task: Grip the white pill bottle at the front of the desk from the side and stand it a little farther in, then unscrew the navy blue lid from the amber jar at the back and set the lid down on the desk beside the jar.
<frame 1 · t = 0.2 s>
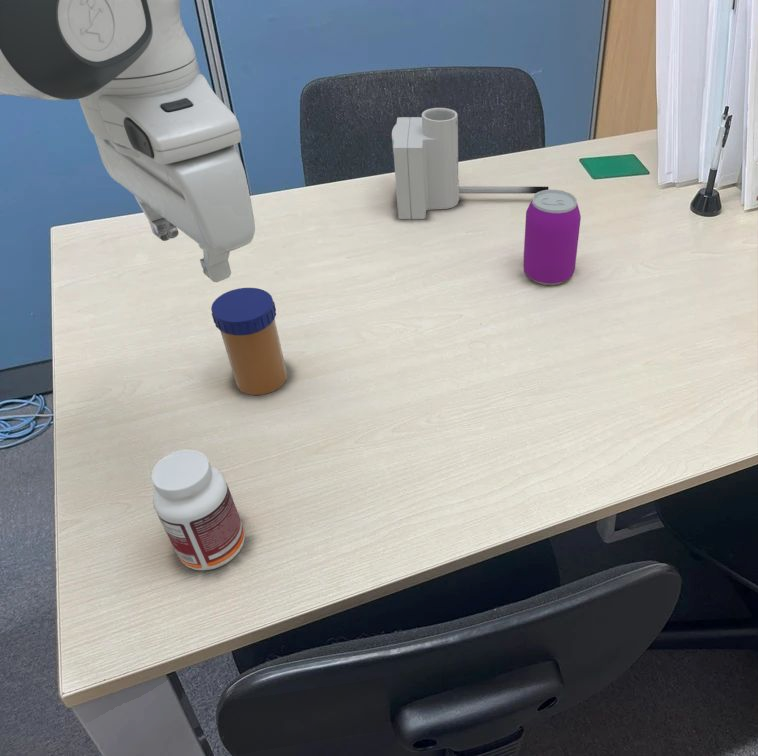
hand: (191, 255, 63), 23 cm above the table, tool pointing down, fingers open, 8 cm apart
pill bottle: (212, 546, 67), on the table
lid: (242, 306, 78), point 11 cm above the table, screwed on, not yet turned
jar: (261, 378, 85), on the table
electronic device: (472, 202, 121), on the table
beverage can: (548, 274, 105), on the table
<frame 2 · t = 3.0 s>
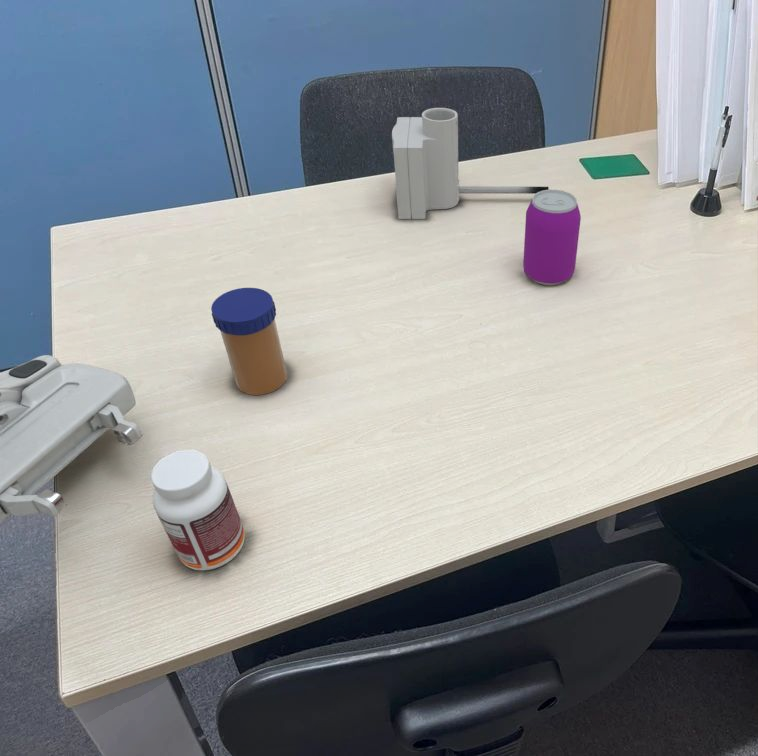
hand: (99, 469, 66), 6 cm above the table, tool horizontal, fingers open, 8 cm apart
nothing on the table moved.
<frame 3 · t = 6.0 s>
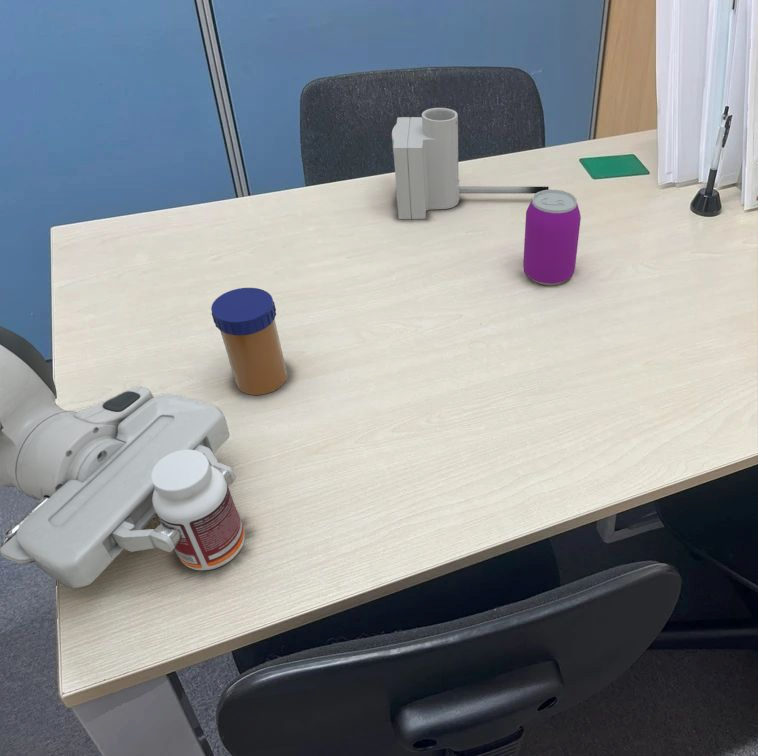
hand: (204, 508, 63), 6 cm above the table, tool horizontal, fingers closed on pill bottle, 6 cm apart
pill bottle: (212, 546, 67), on the table, touching gripper
everything else where it was.
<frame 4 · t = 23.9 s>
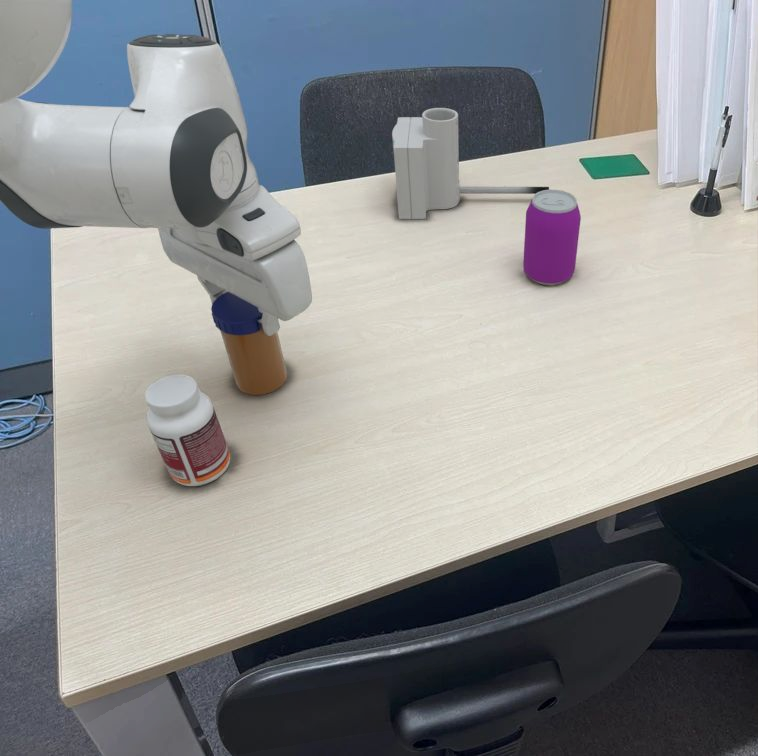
hand: (246, 318, 79), 9 cm above the table, tool pointing down, fingers closed on lid, 6 cm apart
pill bottle: (201, 467, 75), on the table
lid: (242, 306, 78), point 11 cm above the table, screwed on, not yet turned, touching gripper
everything else where it was.
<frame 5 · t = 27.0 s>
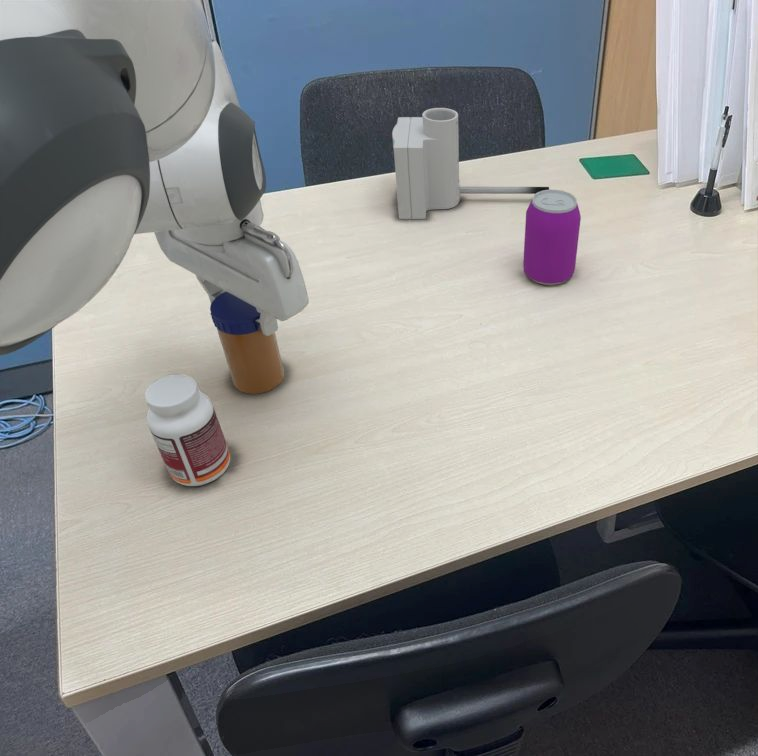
hand: (244, 317, 79), 9 cm above the table, tool pointing down, fingers closed on lid, 6 cm apart
lid: (241, 306, 78), point 11 cm above the table, off its thread, touching gripper, jar
jar: (258, 377, 85), on the table, touching gripper, lid
everything else where it was.
when the fingers open (0 cm above the table, at t = 34.9 s): lid stays where it is, point 1 cm above the table.
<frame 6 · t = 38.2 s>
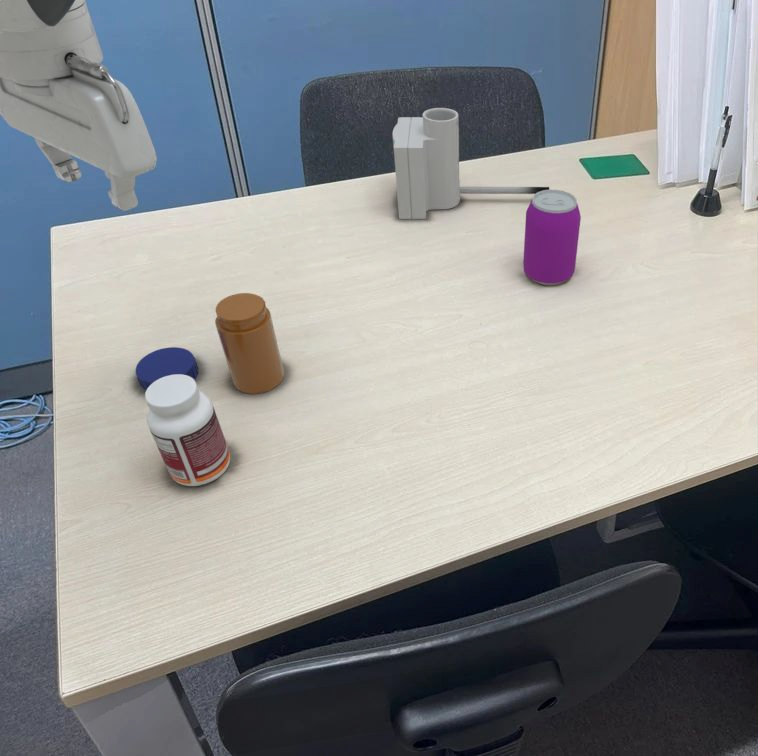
hand: (97, 192, 69), 24 cm above the table, tool pointing down, fingers open, 8 cm apart
lid: (165, 366, 84), point 1 cm above the table, off its thread
jar: (258, 377, 85), on the table
everything else where it was.
at the end: pill bottle inside the target area (0.0 cm from its centre), on the table; lid came off its thread; lid point 1.5 cm above the table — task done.
